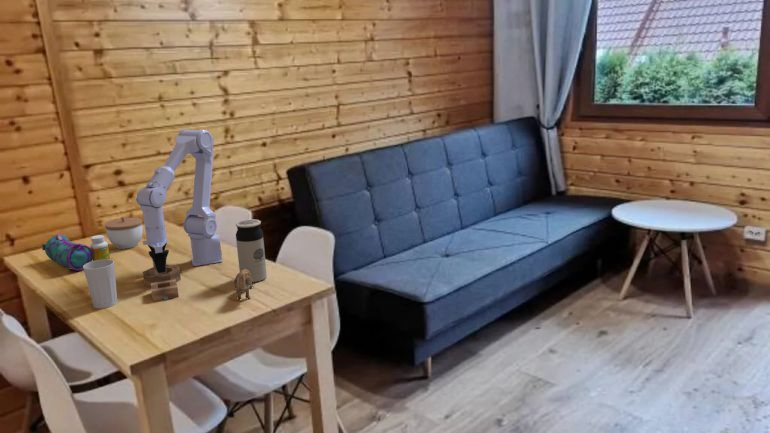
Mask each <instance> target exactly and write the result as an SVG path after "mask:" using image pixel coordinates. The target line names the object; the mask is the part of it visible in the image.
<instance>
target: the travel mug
mask: <svg viewBox="0 0 770 433" xmlns="http://www.w3.org/2000/svg"><path fill="white" fill-rule="evenodd" d="M261 222H262V220H259V219H253V218H252V219H243V220H240V221H237V222H236V223H235V227H236V228H237V231H236V233H235V239H236V250H237V259H238V270H239V272H240V271H241V270H244V269H246V270H249V271H250V274H251V279H253V280H254V281H253V283H258V282H257V281H259V282H261V280H262V281H263V280H265V279H266V278H267V274H268V273H267V265H266V254H265V253H266V252H265V244H264V243H265V242H264V232H263V230H262V229H261V225H262V224H261Z"/></svg>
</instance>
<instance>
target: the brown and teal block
mask: <svg viewBox="0 0 770 433" xmlns="http://www.w3.org/2000/svg"><path fill="white" fill-rule="evenodd" d="M154 251H155V250H154ZM151 260H152V264H153V265H152V267H154V272H155V275H162V274H167V270H166V271H165V272H163V273H158V272H157V269H156V266H155V263H154V261H153V259H152V258H151Z"/></svg>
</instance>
